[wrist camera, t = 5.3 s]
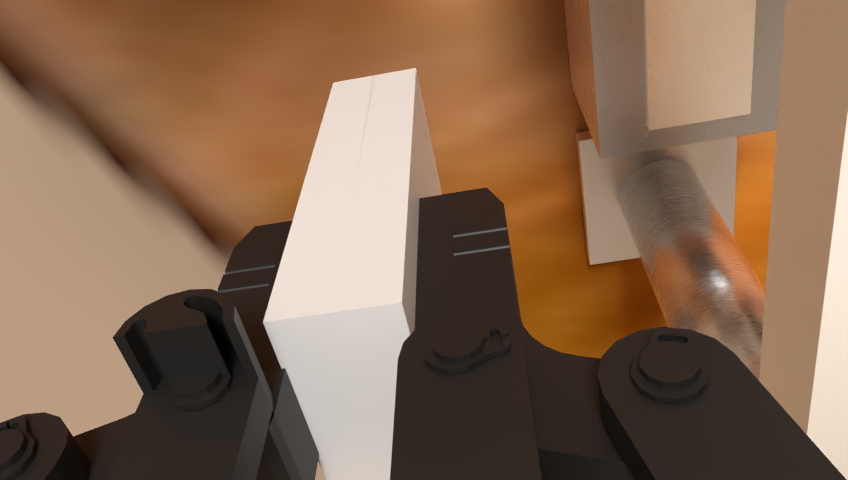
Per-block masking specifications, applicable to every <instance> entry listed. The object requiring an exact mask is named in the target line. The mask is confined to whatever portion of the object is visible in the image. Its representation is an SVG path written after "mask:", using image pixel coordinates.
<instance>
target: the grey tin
mask: <svg viewBox="0 0 848 480" xmlns="http://www.w3.org/2000/svg"><path fill="white" fill-rule="evenodd" d="M564 9H565V20H566V31H567V42H568V53H569V64H570V75H571V85H572V88H573V91H574V93H575V96H576V98H577V101H578V103H579V106H580V108H581V111H582V113H583V116H584V119H585V121H586V124H587V126H588V129H589V131H590V134H591V136H592V139H593V141H594V144H595V147H596V149H597V152H598V154H599V157H600V159H601V158H607V157H613V156H620V155H626V154H632V153H638V152H644V151H650V150H656V149H662V148H668V147H675V146H681V145H687V144H693V143H699V142H705V141H711V140H717V139H724V138H730V137H736V136H742V135H748V134H754V133H760V132H766V131H773V130H777V122H778V108H779V94H780V80H781V66H782V52H783V38H784V24H785V10H786V0H564Z"/></svg>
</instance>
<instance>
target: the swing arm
mask: <svg viewBox="0 0 848 480" xmlns="http://www.w3.org/2000/svg"><path fill="white" fill-rule="evenodd" d="M759 381H760V382H761V384H762V385H763V386H764V387H765V388H766V389H767V390H768V391H769V393H770V394H771V395H772V396H773V397H774V398H775V399H776V401H777V402H778V403H779V404H780V405H781V406H782V407H783V408H784V410H785V411H786V412H787V413H788V414H789V415H790V416H791V417H792V419H793V420H794V421H795V422H796V423H797V424H798V425H799V426H800V428H801V429H802V430H803V431H804V432H805V433H806V434H807V435H808V437H809V438H810V439H811V440H812V441H813V442H814V443H815V445H816V446H817V447H818V448H819V449H820V450H821V451H822V452H823V454H824V455H825V456H826V457H827V458H828V459H829V460H830V461H831V463H832V464H833V465H834V466H835V467H836V468H837V469H838V470H839V472H840V473H841V474H842V475H843V476H844V477H845V478H846V479H847V480H848V0H786V10H785V24H784V38H783V52H782V66H781V80H780V94H779V108H778V122H777V136H776V150H775V164H774V178H773V192H772V206H771V220H770V234H769V248H768V262H767V276H766V290H765V304H764V318H763V333H762V347H761V361H760V375H759Z"/></svg>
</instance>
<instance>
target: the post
mask: <svg viewBox="0 0 848 480" xmlns="http://www.w3.org/2000/svg"><path fill="white" fill-rule="evenodd" d="M576 141H577V152H578V163H579V174H580V185H581V196H582V207H583V218H584V229H585V240H586V251H587V257H588V260H589V264H590V265H593V264H600V263H607V262H613V261H620V260H627V259H634V258H641V261H642V263H643V266H644V268H645V271H646V274H647V276H648V279H649V281H650V284H651V286H652V289H653V291H654V294H655V296H656V299H657V301H658V304H659V306H660V309H661V311H662V314H663V317H664V319H665V322H666V324H667V327H670V328H681V329H691V330H693V331H696V332H699V333H702V334H704V335H707V336H710V337H712V338H715V339H717V340H718V341H719V342H721V343H722V344H723V345H724V346H726V347H727V348H728V349H730V350H731V351H732V352H733V353H735V354H736V355H737V357H738V358H739V359H740V360H741V361H742V362H743V363H744V364H745V366H746V367H747V368H748V369H749V370H750V371H751V372H752V373H753V375H754V376H755V377H756V378H757V379H758V380H759V375H760V361H761V347H762V333H763V318H764V304H765V289H764V288H763V286H762V284H761V283H760V281H759V279H758V278H757V276H756V274H755V273H754V271H753V269H752V268H751V266H750V264H749V262H748V261H747V259H746V257H745V256H744V254H743V252H742V251H741V249H740V247H739V246H738V244H737V242H736V241H735V239H734V237H733V235H734V210H735V185H736V159H737V136H736V137H730V138H724V139H717V140H711V141H705V142H699V143H693V144H687V145H681V146H675V147H668V148H662V149H656V150H650V151H644V152H638V153H632V154H626V155H620V156H613V157H607V158H601V159H600V157H599V154H598V152H597V149H596V147H595V144H594V141H593V139H592V136H591V134H590V131H589V130H586V131H580V132H576Z"/></svg>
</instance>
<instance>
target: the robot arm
mask: <svg viewBox="0 0 848 480" xmlns="http://www.w3.org/2000/svg"><path fill="white" fill-rule="evenodd" d="M225 272H226V275H223V277H222V280H221V283H220V285H219V288H218V292H217V291H214V290H212V289H197V290H187V291H183V292H180V293H175V294H172V295H168V296H165V297H163V298H161V299H159V300H157V301H155V302H153V303H151V304H149V305H147V306H145V307H143V308H142V309H141V310H139V311H138V312H137V313H136V314H134V315H133V316H132V317H130V318H129V319H128V320H127V321H125V323H124V324H123V325H122V326H121V328H120V329H119V330H118V331H117V333H116V334H115V335H114V337H113V339H114V341H115V342H116V344H117V346H118V348H119V350H120V351H121V353H122V355H123V357H124V359H125V360H126V362H127V364H128V366H129V368H130V370H131V371H132V373H133V375H134V377H135V379H136V380H137V382H138V384H139V386H140V388H141V389H142V391H143V393H144V394H143V396H142V399H141V401H140V404H139V406H138V408H137V410H136V412H135V413H134V414H131V415H129V416H127V417H125V418H122V419H119V420H117V421H114V422H111V423H109V424H106V425H103V426H101V427H98V428H95V429H93V430H90V431H87V432H84V433H82V434H79V435H77V436H74V437H73V436H72V434H71V433H70V431H69V430H68V428H67V427H66V425H65V424H64V422H63V421H62V419H61V418H60V417H58V416H54V415H51V414H48V413H45V412H44V413H34V414H24V415H21V416H18V417H15V418H13V419H10V420H7V421H4V422H2V423H0V480H315V475H316V469H317V462H318V461H319V463H320V466H321V469H322V471H323V474H324V476H325V478H326V480H847V479H846V478H845V477H844V476H843V475H842V474H841V473H840V472H839V470H838V469H837V468H836V467H835V466H834V465H833V464H832V463H831V461H830V460H829V459H828V458H827V457H826V456H825V455H824V454H823V452H822V451H821V450H820V449H819V448H818V447H817V446H816V445H815V443H814V442H813V441H812V440H811V439H810V438H809V437H808V435H807V434H806V433H805V432H804V431H803V430H802V429H801V428H800V426H799V425H798V424H797V423H796V422H795V421H794V420H793V419H792V417H791V416H790V415H789V414H788V413H787V412H786V411H785V410H784V408H783V407H782V406H781V405H780V404H779V403H778V402H777V401H776V399H775V398H774V397H773V396H772V395H771V394H770V393H769V391H768V390H767V389H766V388H765V387H764V386H763V385H762V384H761V382H760V381H759V380H758V379H757V378H756V377H755V376H754V375H753V373H752V372H751V371H750V370H749V369H748V368H747V367H746V366H745V364H744V363H743V362H742V361H741V360H740V359H739V358H738V357H737V355H736V354H735V353H733V352H732V351H731V350H730V349H728V348H727V347H726V346H724V345H723V344H722V343H721V342H719V341H718V340H717V339H715V338H712V337H710V336H707V335H704V334H702V333H699V332H696V331H693V330H691V329H681V328H670V327H659V328H653V329H647V330H641V331H637V332H634V333H632V334H630V335H628V336H626V337H624V338H622V339H620V340H618V341H616V342H615V343H614V344H613V345H612V346H611V347H610V349H609V350H608V351H607V352H606V353H605V354H604V355H603V356H602V359H599V358H590V357H581V356H575V355H571V354H566V353H561V352H558V351H556V350H553V349H551V348H548V347H546V346H544V345H542V344H541V343H540V342H538V341H537V340H535V339H534V338H533V337H531V335H530V334H529V333H528V332H527V330H526V329H525V328H524V327H523V324H522V321H521V316H520V309H519V302H518V295H517V288H516V281H515V275H514V268H513V262H512V255H511V249H510V242H509V236H508V229H507V223H506V216H505V210H504V204H503V203H502V202H501V201H500V200H499V199H498V198H497V197H496V196H495V195H494V194H493V193H492V192H491V191H490V190H489V189H488V188H481V189H475V190H469V191H462V192H456V193H450V194H443V195H442V192H441V187H440V182H439V177H438V172H437V167H436V163H435V158H434V153H433V148H432V143H431V138H430V133H429V128H428V124H427V119H426V114H425V109H424V104H423V99H422V94H421V90H420V85H419V80H418V75H417V70H416V68H413V69H408V70H402V71H396V72H391V73H385V74H380V75H374V76H368V77H363V78H357V79H351V80H346V81H340V82H335V83H333V86H332V89H331V92H330V96H329V99H328V103H327V106H326V109H325V113H324V116H323V120H322V123H321V126H320V130H319V133H318V137H317V140H316V143H315V147H314V150H313V154H312V157H311V160H310V164H309V167H308V171H307V174H306V177H305V181H304V184H303V188H302V191H301V194H300V198H299V201H298V205H297V208H296V211H295V215H294V218H293V221H287V222H281V223H274V224H268V225H262V226H255V227H254V228H253V229H252V230H251V231H250V232H249V233H248V234H247V235H246V236H245V237H244V238H243V239H242V240H241V241H240V242H239V243H238V244H237V246H236V247H235V248H234V249H233V252H232V254H231V257H230V260H229V262H228V265H227V267H226V270H225Z"/></svg>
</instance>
